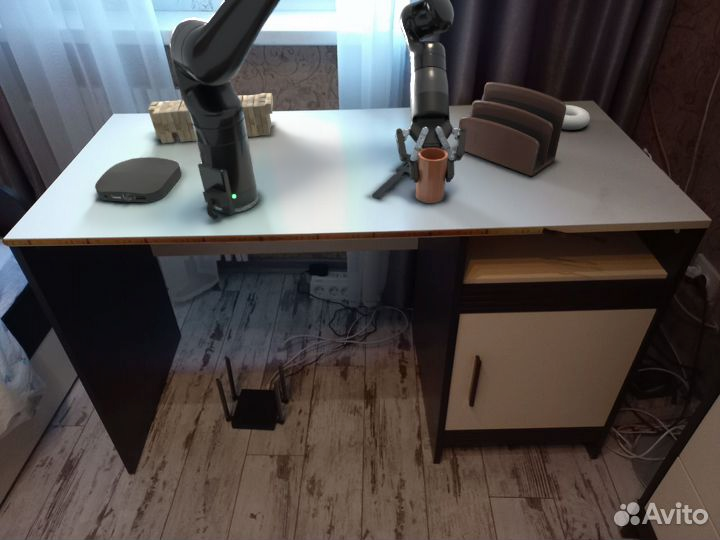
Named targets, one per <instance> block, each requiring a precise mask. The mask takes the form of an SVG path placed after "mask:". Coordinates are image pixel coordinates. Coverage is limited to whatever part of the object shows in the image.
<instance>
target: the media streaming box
mask: <svg viewBox="0 0 720 540" xmlns="http://www.w3.org/2000/svg"><path fill="white" fill-rule="evenodd" d="M180 177H182V169H181V166H180V163H179V162H177V161H176V160H173V159H169V158H164V157H151V156H150V157H149V156H147V157H135V158H129V159H126V160H123V161H120V162H118V163H116V164H113V165H112V166H111V167H109V168H108V169H106V171H105V172H103V174H102V175H101V176H100V178H99V179H98V180H97V181H96V182H95V185H94V188H95V191H96V194H97V196H98V198H99V199H101V200H102V201H109V202H110V201H111V202H125V203H149V202H155V201H157V200H160V199H162V198H164V197H165V196H166V195H167V193H168V192H169V191H170V190H171V189H172V188H173V187H174V186H175V184H176V183H177V182H178V180H179V179H180Z"/></svg>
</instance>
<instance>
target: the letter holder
mask: <svg viewBox="0 0 720 540" xmlns="http://www.w3.org/2000/svg"><path fill="white" fill-rule="evenodd" d="M483 95H484V97H483V96H482V97H483V100H481V99H476V100H474V101H473V102H471V103H472V104H471V109H470V116H461V117H460V118H459V120H458V126H457V128H460V129H461V128H462V127H465V128H466V129H467V132H466V140H465V148H464V153H467V154H471V155H472V156H476V157H479V158H481V159H484V160H487V161H488V162H492V163H494V164H497V165H500V166H502V167H506V168H508V169H511V170H513V171H516V172H518V173H521V174H523V175H524V174H525V175H527V176H529V177H533V176H535V175H537V174H538V173H539V172H540V171H542V170H544V169H545V168H547V166H549V165H551V164H552V163H553V162H554V161H555V160H556V157H557V152H558V148H559V142H560V139H561V134H562V130H563V129H562V125H563V121H564V117H565V113H566V105H567V104H566V103H565V102H564V101H563V100H561V99H558V98H556V97H555V96H552V95H549V94H546V93H544V92H541V91H537V90H534V89H531V88H527V87H523V86H520V85H515V84H509V83H503V82H494V81H488V82H486V84H485V85H484V90H483ZM456 147H457V141H456V142H455V148H456Z"/></svg>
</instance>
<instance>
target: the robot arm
mask: <svg viewBox="0 0 720 540" xmlns="http://www.w3.org/2000/svg"><path fill="white" fill-rule="evenodd" d="M281 1H282V0H223V1H222V2H221V4H220V5H219V7H218V8H217V9H216V11H215V12H214V14H212V16H211V17H210V18H209V19H208V20H205V19H202V18H196V17H192V18H191V17H190V18H185V19H183V20H182V21H180V22H179V23H178V24H177V25H176V26H175V27H174V29H173V31H172V33H171V36H170V40H169V53H170V58H171V62H172V66H173V67H172V68H173V70H174V74H175V77H176V81H177V84H178V88H179V91H180V96H181V98H182V101H184V104H185V106H186V108H187V110H188V112H189V114H190V117H191V121H192V125H193V129H194V133H195V137H196V141H195V142H196V145H197V149H198V153H199V157H200V161H201V162H199V163H198V164H197V168H198V172H199V177H200V180H201V184H202V187H203V191H202V194H203V195H202V196H203V198H204V199H203V200H204V203H206V213H207V215H208V216H209V217H210V218H211V219H213V220H214V221H216V220H217V219H219V216H218V214H216V213H215V212H214V211H217V212H219V213H223V214H225V215H227V216H233V215H235V214H236V213H242V212H245V211H247V210H248V211H249V210H250V209H252V208H253V207H254V206H256V205H257V204H258V202H259V200H260V195H259V191H258V188H257V182H256V175H255V171H254V165H253V159H252V153H251V147H250V142H249V137H248V135H247V129H246V124H245V118H244V112H243V107H242V103H241V101H240V99H239V97H238V96H239V95H238V94H237V92H236V91H235V88H234V86H233V84H232V82H231V81H232V80H233V79H234V78H235V77H236V75H238V72H239V71H240V69H241V67H242V66H243V64H244V63H245V60H246V59H247V57H248V55H249V53H250V51H251V49H252V48H253V45H254V44H255V42H256V40H257V38H258V36H259V35H260V32H261V31H262V29H263V27H264V25H266V23H267V22H268V19H269V18H270V17H271V15H272V14H273V13H274V11H275V10H276V8H277V7H278V5H279V4H280V2H281ZM454 12H455V11H454V7H453V4H452V2H451V1H450V0H416V1H414V2H411V3H409V4H407V5H405V6H404V7H403V8H402V10H401V12H400V15H399V26H400V29H401V32H402V35H403V38H404V40H405V43H406V48H407V51H408V56H409V67H410V68H409V69H410V81H409V82H410V83H409V104H410V107H409V108H410V126H409V127H408V128H405V129H402V128H400V127H399V128H397V129H396V130H395V141H396V146H397V152H398V156H399V160H400V162H401V163H404V162H407V163H409V165H410V175H409V179H410V181H413V184H416V183H417V182H418V162H416V160H417V159H418V152H419V151H420V150H421V149H424V148H429V147H435V148H440V149H443V150H445V151H446V152H447V153H448V159H447V170H446V180H445V183H451V181H452V180H453V179H454V177H455V162H458V161H461V160H462V158H463V157H464V156H465V155H464V154H465V151H464V148H465V140H466V132H467V129H466V128H465V127H462V128H461V129H460V128H458V127H453V125H452V124H451V119H450V117H451V116H450V95H449V81H448V75H447V54H446V49H445V46H444V45H443V44H442V43H440V42H438V41H436V40H435V41H433V40H425V39H428V38H432V37H435V36H438V35H440V34H444V33H446V32H448V31H449V30H450V29H451V28H452V26H453V24H454V19H455V13H454ZM451 135H453V139H454V140H455V141H456V142H457V147H456V146H455V153H453V151H452V149H451V145H450V143H449V141H448V139H449V138H450V136H451ZM408 136H409V137H410V138H411V139H412V140H413V142H414V143H415V146H414V148H413V150H412V152H411V154H409V153H408V151H407V146H406V142H407V140H408ZM213 210H214V211H213Z"/></svg>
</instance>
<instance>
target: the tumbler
mask: <svg viewBox="0 0 720 540" xmlns="http://www.w3.org/2000/svg"><path fill="white" fill-rule="evenodd" d="M417 159H418V182H417V183H415V184H416V185H415V197H416V199H417V200H418V201H420V202H421V203H424V204H425V203H426V204H436V203H440V202H441V201H442V200H443V199H444V197H445V188H446V170H447V159H448V153H447V152H446V151H445V150H443V149H440V148H435V147H429V148H424V149H422V148H421V150H420V151H419V152H418V157H417Z"/></svg>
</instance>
